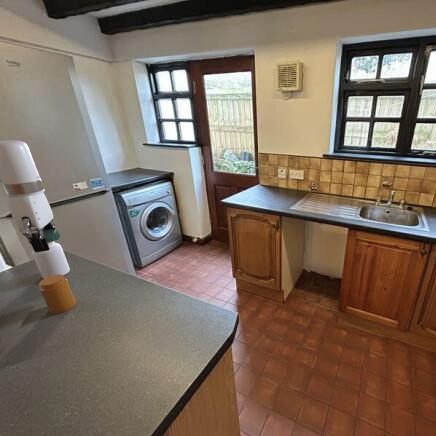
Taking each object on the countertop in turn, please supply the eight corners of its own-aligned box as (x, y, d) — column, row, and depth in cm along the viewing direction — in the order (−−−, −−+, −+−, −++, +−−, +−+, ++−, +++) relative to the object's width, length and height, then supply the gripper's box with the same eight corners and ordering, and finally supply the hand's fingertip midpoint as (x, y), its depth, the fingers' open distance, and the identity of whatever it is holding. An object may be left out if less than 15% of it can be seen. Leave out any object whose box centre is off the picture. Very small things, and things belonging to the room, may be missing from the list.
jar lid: (60, 240, 72) (58, 234, 71) (28, 247, 68) (25, 241, 67) (60, 232, 77) (58, 227, 76) (30, 238, 72) (28, 233, 72)
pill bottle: (51, 282, 89) (36, 246, 84) (37, 277, 92) (21, 242, 86) (75, 270, 96) (62, 236, 91) (61, 266, 99) (48, 233, 93)
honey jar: (46, 316, 74) (33, 288, 70) (53, 303, 80) (41, 276, 76) (73, 309, 77) (61, 282, 73) (78, 297, 82) (68, 271, 78)
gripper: (21, 181, 72) (43, 235, 79) (-16, 198, 57) (16, 262, 64) (54, 179, 75) (72, 231, 82) (27, 195, 60) (52, 256, 67)
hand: (47, 244), depth 73 cm, fingers closed on jar lid, 6 cm apart
